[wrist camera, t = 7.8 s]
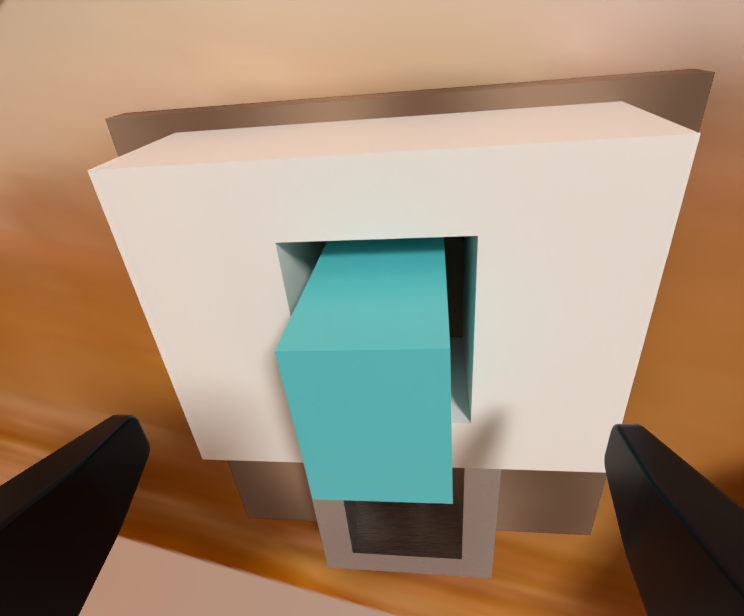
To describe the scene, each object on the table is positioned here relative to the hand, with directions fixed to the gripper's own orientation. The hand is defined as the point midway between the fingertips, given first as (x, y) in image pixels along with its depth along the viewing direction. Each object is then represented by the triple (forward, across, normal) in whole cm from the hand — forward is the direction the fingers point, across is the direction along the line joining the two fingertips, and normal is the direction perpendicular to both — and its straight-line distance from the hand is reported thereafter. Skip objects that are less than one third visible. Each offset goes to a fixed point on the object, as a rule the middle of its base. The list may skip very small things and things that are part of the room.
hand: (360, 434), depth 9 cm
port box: (+7, 0, 0) cm, 7 cm away
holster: (+7, 0, +9) cm, 11 cm away
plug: (+7, 0, 0) cm, 7 cm away
